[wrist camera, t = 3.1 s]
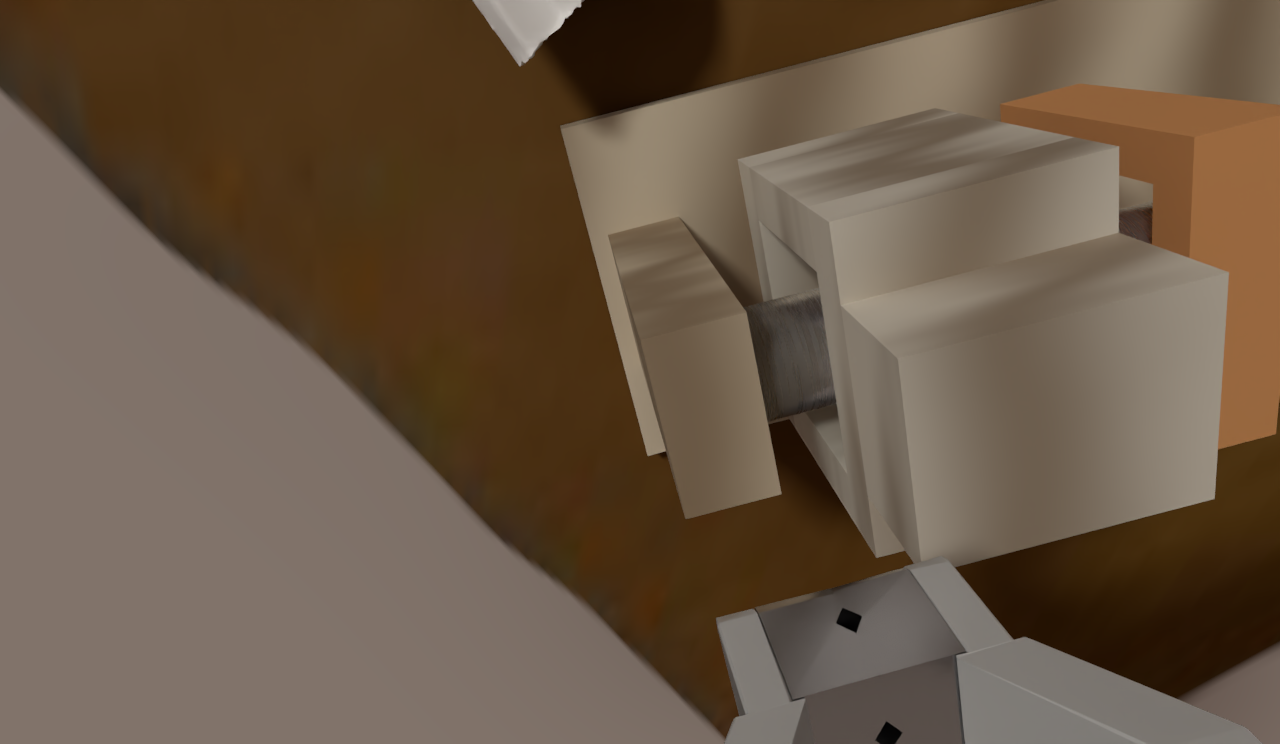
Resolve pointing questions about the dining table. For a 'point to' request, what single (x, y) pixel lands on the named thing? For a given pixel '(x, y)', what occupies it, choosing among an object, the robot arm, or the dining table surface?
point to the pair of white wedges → (525, 22)
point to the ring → (1199, 211)
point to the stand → (814, 108)
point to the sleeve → (990, 334)
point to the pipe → (799, 343)
